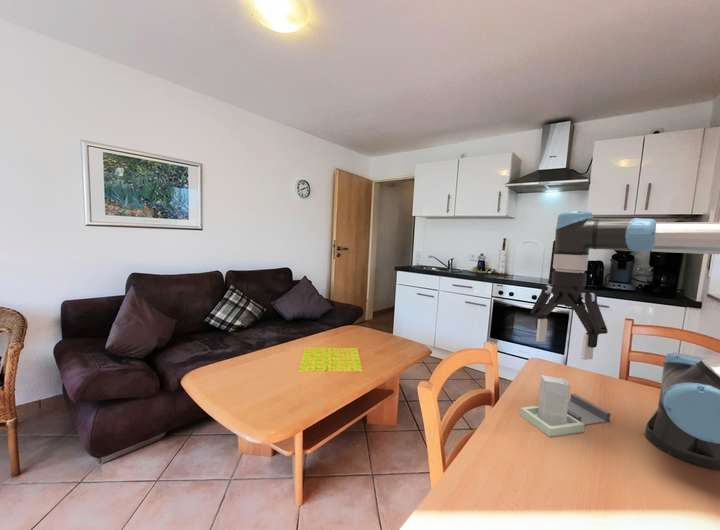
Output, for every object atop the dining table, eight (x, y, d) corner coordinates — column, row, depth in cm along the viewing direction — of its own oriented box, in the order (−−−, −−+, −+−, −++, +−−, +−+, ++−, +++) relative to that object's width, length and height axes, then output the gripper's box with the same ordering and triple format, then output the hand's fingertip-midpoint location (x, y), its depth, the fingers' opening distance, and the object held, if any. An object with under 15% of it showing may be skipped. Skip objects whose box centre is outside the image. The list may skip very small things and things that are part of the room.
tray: (583, 432, 81) (584, 424, 81) (549, 437, 78) (550, 429, 78) (551, 411, 90) (551, 404, 90) (520, 415, 88) (520, 407, 87)
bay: (609, 421, 86) (610, 413, 86) (576, 426, 83) (577, 417, 83) (573, 401, 97) (574, 393, 97) (542, 404, 94) (543, 396, 94)
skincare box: (560, 419, 85) (565, 378, 84) (566, 428, 81) (570, 385, 80) (536, 414, 87) (540, 374, 86) (540, 423, 83) (544, 380, 82)
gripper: (632, 276, 70) (622, 367, 72) (541, 266, 94) (535, 334, 96) (608, 276, 68) (598, 369, 70) (520, 266, 92) (515, 335, 94)
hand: (562, 349), depth 83 cm, fingers open, 13 cm apart
